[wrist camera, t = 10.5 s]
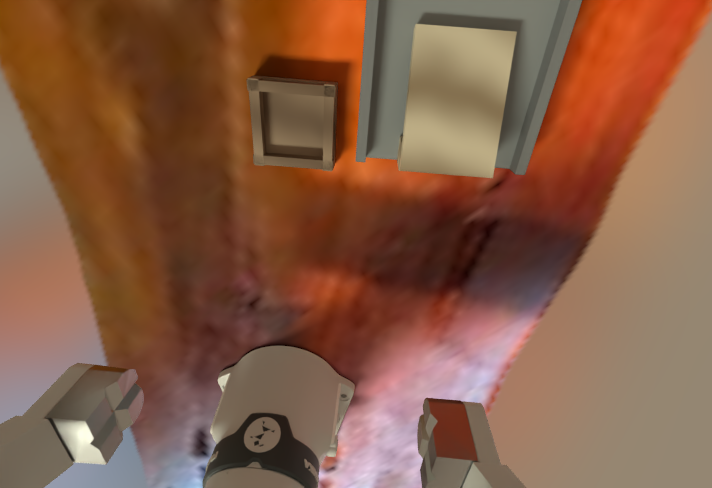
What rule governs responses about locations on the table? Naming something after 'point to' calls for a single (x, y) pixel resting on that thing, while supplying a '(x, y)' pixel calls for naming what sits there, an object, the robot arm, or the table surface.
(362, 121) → the grey railed platform
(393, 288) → the table surface
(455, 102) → the ramp
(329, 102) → the brown square wooden tray
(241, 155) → the table surface
